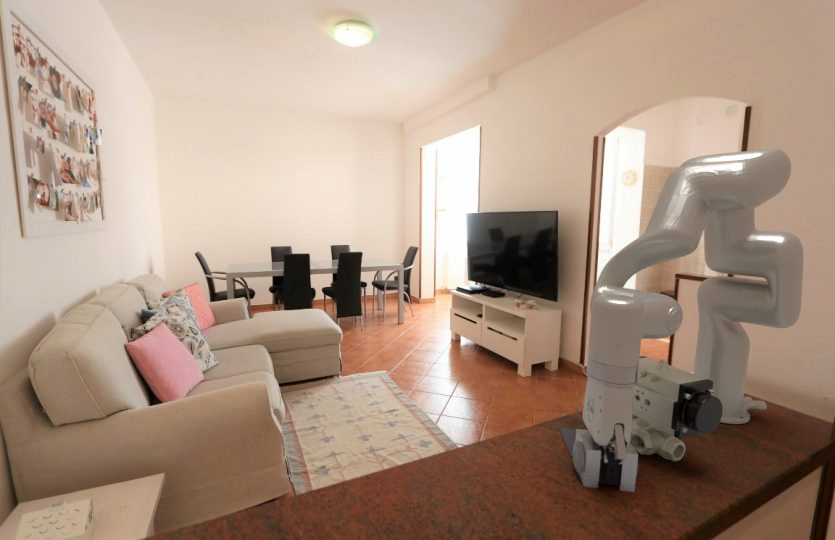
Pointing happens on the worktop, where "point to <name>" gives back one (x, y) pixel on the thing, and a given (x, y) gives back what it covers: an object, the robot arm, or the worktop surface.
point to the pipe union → (589, 462)
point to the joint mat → (569, 438)
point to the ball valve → (671, 408)
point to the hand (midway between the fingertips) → (602, 471)
